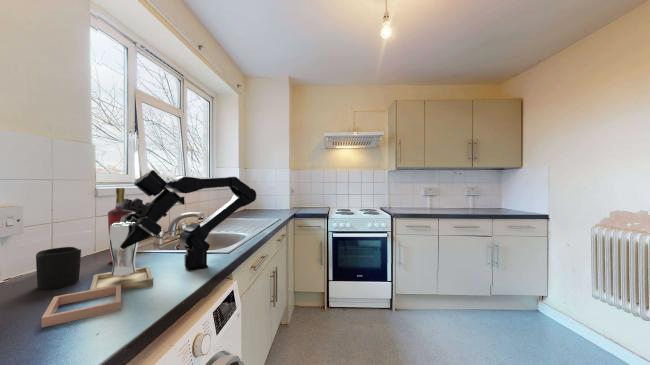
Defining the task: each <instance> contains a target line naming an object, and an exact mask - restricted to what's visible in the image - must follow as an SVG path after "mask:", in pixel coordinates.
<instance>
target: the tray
mask: <svg viewBox="0 0 650 365" xmlns="http://www.w3.org/2000/svg"><path fill="white" fill-rule="evenodd" d="M111 273H112V271H111V272H110V271H109V272H104V273H98V274H97V273H96V274H93V278H92V281H91V285H90V288H89V290H94V289H100V288H105V287H111V286H117V285H121V292H126V291H130V290H136V289H142V288H146V287H150V286H151V287H153V286H154V277H153V274H152V271H151V267H150V266H145V267H136V273H135V274H133V275H130V276H126V277H112V276H111Z"/></svg>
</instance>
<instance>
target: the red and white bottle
mask: <svg viewBox="0 0 650 365" xmlns="http://www.w3.org/2000/svg"><path fill="white" fill-rule="evenodd" d="M115 190H116V191H115V194H116V199H115V208H112V209H111V210H110V211H108V212H107V219H108V221H107V222H108V223H107V226H108V227H107V228H108V236H109V235H110V225H112V224H116V223H125V221H124V220H126V219H125V218H124V217H125V216H126V215H127V214H128V213H133V211H130V210H125V209H121V208H120V206H121V204H122V203H123V201H124V199H125V195H126V187H116V188H115ZM108 244H109V243H108ZM108 247H109V249H108V250H109V257H108V259H107V260H108V262H110V263H111V264H113V259H112V255H111V250H110V244H109V245H108Z"/></svg>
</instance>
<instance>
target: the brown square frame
mask: <svg viewBox="0 0 650 365" xmlns="http://www.w3.org/2000/svg"><path fill="white" fill-rule="evenodd" d="M113 295H114V296H115V301H110V302H106V303H105V302H104V303H101V304H96V305H89V306H85V307H82V308H81V307H80V308H76V309H71V310H66V311H62V312H61V311H60V312H57V310H58V308H59V307H60V306H62V305H66V304H71V303H72V304H73V303H78V302H82V301H88V300H92V299H98V298H104V297H107V296H108V297H109V296H113ZM121 302H122V291H121V285H117V286H111V287H105V288H100V289H94V290H90V289H89V290H84V291H79V292H73V293H67V294H62V295H57V296H53V298H52V300H51V302H50V303H49V305H48V307H47V308H46V310H45V312H44V313H43V315H42V317H41V329H42V328H46V327H51V326H56V325H61V324H65V323H69V322H73V321H77V320H82V319H88V318H91V317H96V316H100V315H106V314H110V313H115V312H118V311H122V310H121V309H122V303H121Z"/></svg>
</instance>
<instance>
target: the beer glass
mask: <svg viewBox="0 0 650 365" xmlns="http://www.w3.org/2000/svg"><path fill="white" fill-rule="evenodd" d="M133 223H135V222H125V223H116V224H112V225H110V235H109V234H108V240H109V241H108V244H110V250H111V255H112V259H113V263H112V270H111V272H112V273H111V276H112V277H126V276H130V275H133V274H135V273H136V268H137V267H136V257H137V256H136V255H137V250H138V246H139V242H137V243H135V244H133V245H131V246H129V247H127V248H124V249H122V248H121V247H120V246H121V244H122V243H123V242H124V241H125V239H126V238H127V237H128V236H129V234H130V233H131V232H132V231H133ZM136 224H137V225H138V223H136Z"/></svg>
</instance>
